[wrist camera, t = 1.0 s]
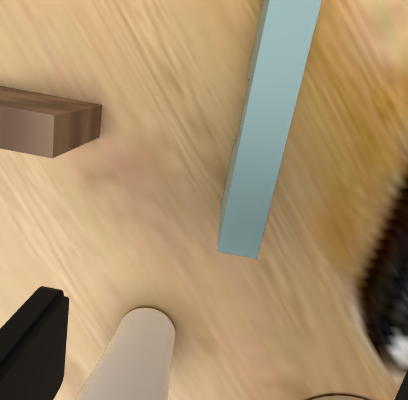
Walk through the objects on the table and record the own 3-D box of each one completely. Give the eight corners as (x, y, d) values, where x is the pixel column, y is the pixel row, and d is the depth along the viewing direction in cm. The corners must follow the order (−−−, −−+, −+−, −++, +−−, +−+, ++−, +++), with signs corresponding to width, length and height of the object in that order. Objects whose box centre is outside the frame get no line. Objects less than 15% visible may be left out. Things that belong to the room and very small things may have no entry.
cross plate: (264, -9, 25) (279, -46, 18) (301, -2, 25) (330, -37, 18) (220, 207, 30) (217, 251, 23) (250, 213, 30) (256, 259, 23)
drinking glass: (113, 293, 34) (27, 450, 19) (187, 303, 33) (154, 469, 19) (111, 352, 36) (33, 533, 22) (180, 362, 36) (146, 552, 21)
